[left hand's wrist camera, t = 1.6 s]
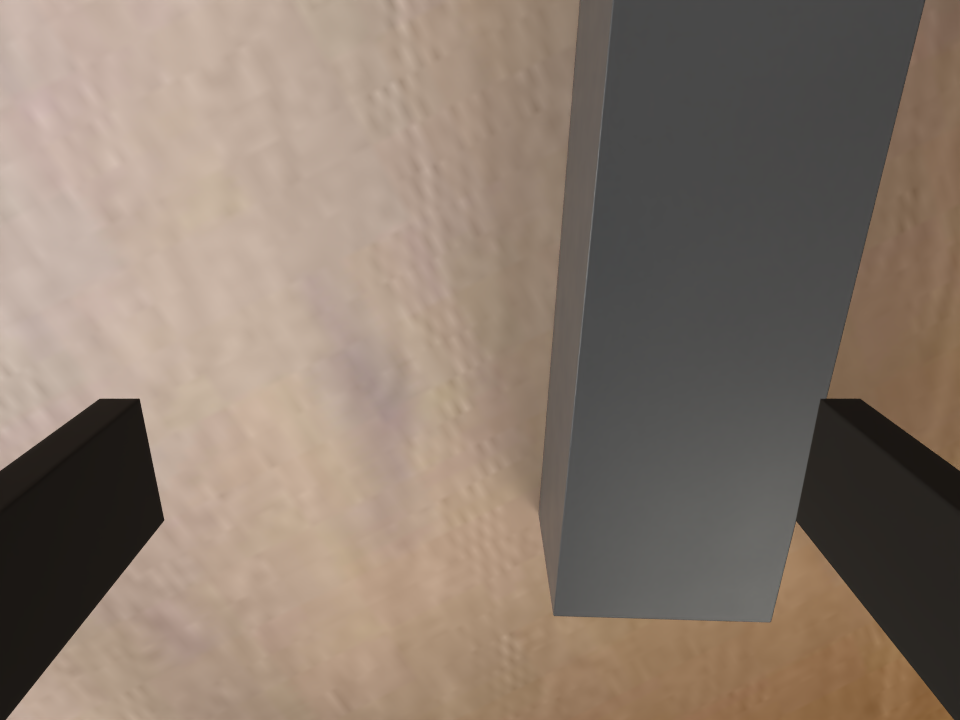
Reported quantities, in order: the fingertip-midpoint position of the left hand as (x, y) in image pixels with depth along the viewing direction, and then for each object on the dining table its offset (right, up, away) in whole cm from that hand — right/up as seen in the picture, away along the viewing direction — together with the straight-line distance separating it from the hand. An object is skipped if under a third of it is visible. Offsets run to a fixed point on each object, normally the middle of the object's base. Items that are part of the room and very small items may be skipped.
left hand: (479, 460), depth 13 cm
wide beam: (+9, +27, +7) cm, 29 cm away
